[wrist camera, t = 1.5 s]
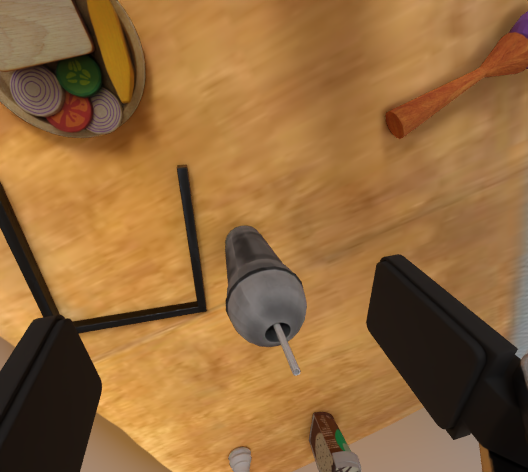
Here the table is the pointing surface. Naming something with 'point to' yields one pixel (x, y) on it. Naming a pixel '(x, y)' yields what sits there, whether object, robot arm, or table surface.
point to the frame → (5, 219)
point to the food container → (331, 446)
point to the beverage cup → (262, 293)
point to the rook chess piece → (240, 459)
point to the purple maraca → (464, 81)
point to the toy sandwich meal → (70, 65)
